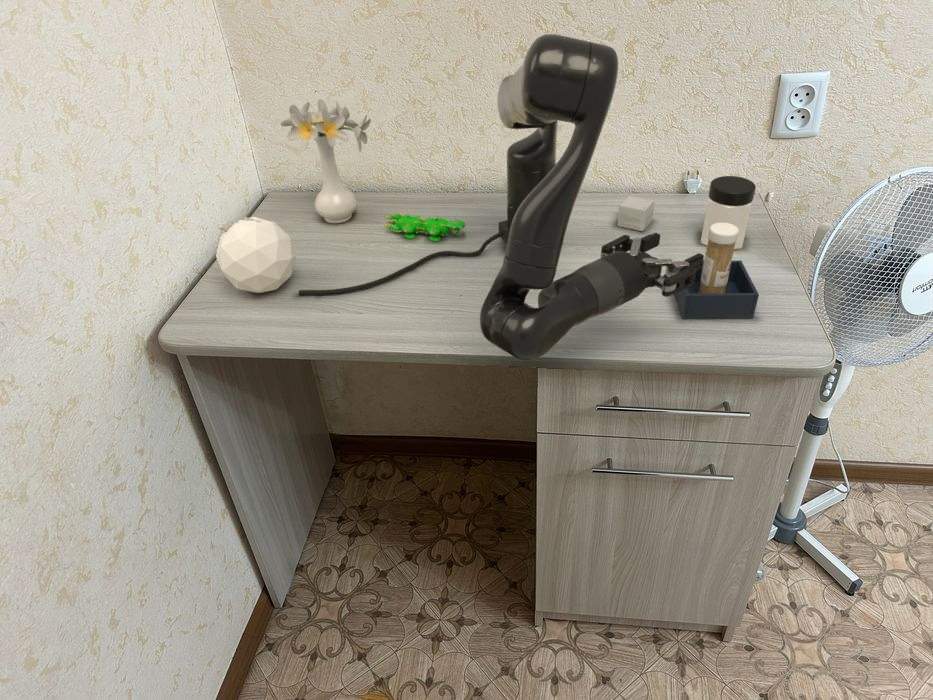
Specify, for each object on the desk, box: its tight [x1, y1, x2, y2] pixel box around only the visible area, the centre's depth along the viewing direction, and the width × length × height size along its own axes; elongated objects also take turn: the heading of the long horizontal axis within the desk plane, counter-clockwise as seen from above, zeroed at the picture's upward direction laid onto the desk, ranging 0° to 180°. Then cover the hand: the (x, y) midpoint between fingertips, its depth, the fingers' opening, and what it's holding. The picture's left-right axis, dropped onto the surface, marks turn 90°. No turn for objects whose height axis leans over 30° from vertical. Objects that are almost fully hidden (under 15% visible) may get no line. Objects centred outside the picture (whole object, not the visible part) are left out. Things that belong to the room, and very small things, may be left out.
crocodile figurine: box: [383, 213, 467, 242], centre depth 144 cm, size 7×18×4 cm, turn 74°
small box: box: [617, 195, 655, 232], centre depth 143 cm, size 6×6×5 cm
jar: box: [700, 175, 757, 250], centre depth 133 cm, size 9×8×12 cm
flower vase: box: [280, 98, 372, 224], centre depth 146 cm, size 13×18×25 cm
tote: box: [673, 259, 760, 320], centre depth 119 cm, size 12×11×5 cm
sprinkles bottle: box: [698, 223, 739, 294], centre depth 115 cm, size 5×5×14 cm
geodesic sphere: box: [215, 215, 297, 294], centre depth 127 cm, size 15×14×14 cm
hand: (679, 248), depth 107 cm, fingers open, 8 cm apart
